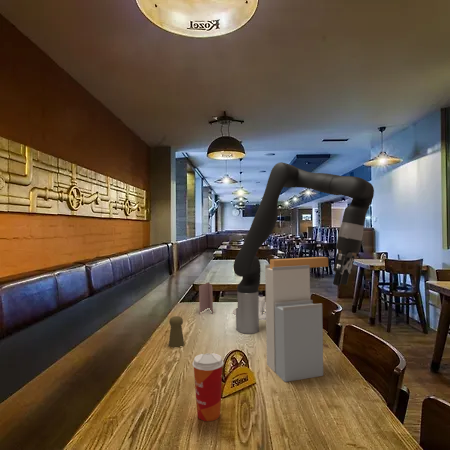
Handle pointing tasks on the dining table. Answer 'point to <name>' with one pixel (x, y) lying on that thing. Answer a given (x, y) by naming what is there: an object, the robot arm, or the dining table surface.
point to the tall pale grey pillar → (283, 298)
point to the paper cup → (208, 385)
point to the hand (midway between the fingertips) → (340, 284)
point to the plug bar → (300, 262)
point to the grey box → (298, 340)
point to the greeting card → (205, 297)
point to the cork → (176, 332)
